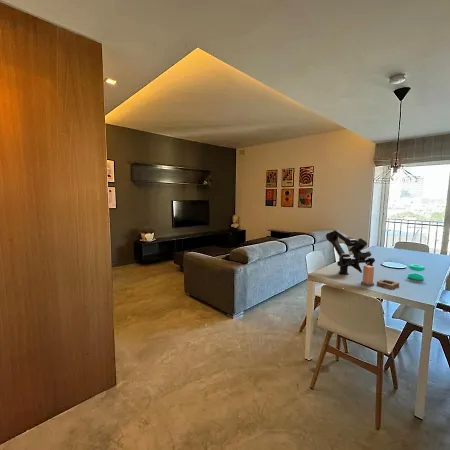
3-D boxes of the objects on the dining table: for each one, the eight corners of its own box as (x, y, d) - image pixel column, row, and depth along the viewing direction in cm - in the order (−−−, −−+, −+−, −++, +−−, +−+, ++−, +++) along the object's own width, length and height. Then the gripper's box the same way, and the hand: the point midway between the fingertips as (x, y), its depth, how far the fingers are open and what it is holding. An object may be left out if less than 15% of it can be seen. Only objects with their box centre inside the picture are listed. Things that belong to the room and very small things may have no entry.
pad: (359, 281, 189) (359, 280, 189) (372, 282, 187) (372, 281, 187) (362, 285, 181) (362, 284, 181) (375, 286, 179) (375, 285, 179)
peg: (362, 281, 185) (363, 265, 184) (367, 281, 186) (369, 265, 185) (367, 284, 181) (368, 267, 180) (372, 283, 182) (374, 267, 181)
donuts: (424, 268, 189) (408, 265, 195) (423, 281, 190) (406, 278, 197) (425, 265, 197) (409, 263, 203) (424, 278, 198) (408, 275, 204)
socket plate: (376, 284, 182) (377, 281, 182) (383, 282, 188) (384, 278, 188) (392, 289, 174) (392, 285, 174) (399, 286, 180) (399, 282, 179)
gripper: (352, 248, 185) (362, 267, 175) (374, 247, 189) (385, 265, 180) (344, 256, 193) (353, 275, 184) (365, 255, 197) (375, 273, 188)
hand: (367, 272), depth 184 cm, fingers open, 9 cm apart
